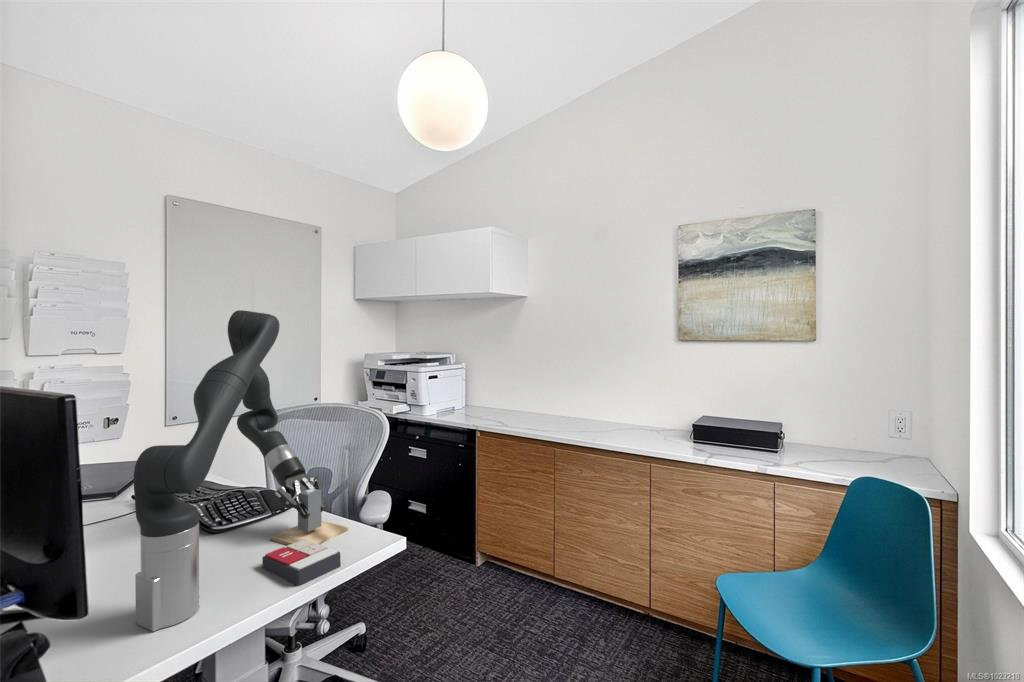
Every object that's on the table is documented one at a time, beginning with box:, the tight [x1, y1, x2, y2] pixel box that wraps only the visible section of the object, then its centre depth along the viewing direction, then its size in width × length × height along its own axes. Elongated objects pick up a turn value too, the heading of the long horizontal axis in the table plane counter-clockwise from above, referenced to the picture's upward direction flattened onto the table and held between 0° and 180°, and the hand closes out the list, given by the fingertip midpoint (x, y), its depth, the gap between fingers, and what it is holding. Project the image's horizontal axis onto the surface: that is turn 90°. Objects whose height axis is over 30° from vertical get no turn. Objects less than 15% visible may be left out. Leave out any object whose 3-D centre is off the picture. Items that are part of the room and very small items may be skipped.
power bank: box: [297, 488, 322, 532], centre depth 127 cm, size 4×4×10 cm
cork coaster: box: [269, 520, 349, 546], centre depth 127 cm, size 14×14×1 cm
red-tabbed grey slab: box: [261, 539, 342, 587], centre depth 110 cm, size 11×4×15 cm
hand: (314, 513), depth 127 cm, fingers closed on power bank, 4 cm apart
